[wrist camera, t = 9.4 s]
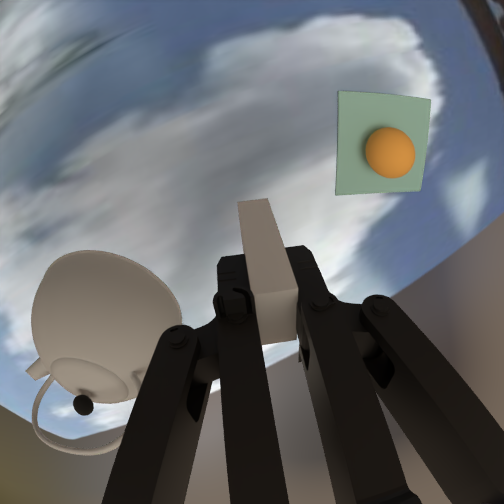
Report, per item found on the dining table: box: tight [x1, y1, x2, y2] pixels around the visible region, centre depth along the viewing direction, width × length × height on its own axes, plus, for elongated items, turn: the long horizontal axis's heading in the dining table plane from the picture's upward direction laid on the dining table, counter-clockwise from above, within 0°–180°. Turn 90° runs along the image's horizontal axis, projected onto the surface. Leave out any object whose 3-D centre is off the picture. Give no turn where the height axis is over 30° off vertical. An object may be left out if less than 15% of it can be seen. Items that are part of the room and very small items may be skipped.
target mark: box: [335, 91, 431, 196], centre depth 31 cm, size 12×12×1 cm
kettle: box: [26, 250, 182, 455], centre depth 32 cm, size 25×23×22 cm
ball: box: [365, 127, 415, 178], centre depth 28 cm, size 6×6×6 cm
